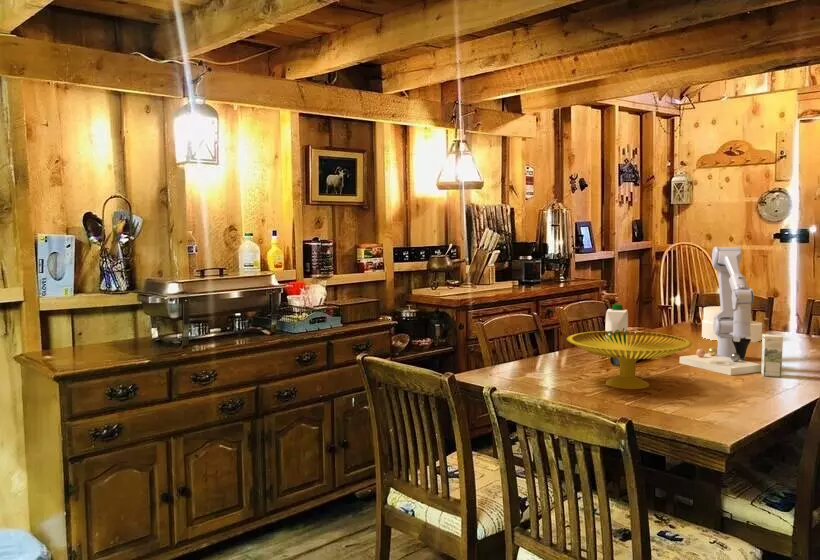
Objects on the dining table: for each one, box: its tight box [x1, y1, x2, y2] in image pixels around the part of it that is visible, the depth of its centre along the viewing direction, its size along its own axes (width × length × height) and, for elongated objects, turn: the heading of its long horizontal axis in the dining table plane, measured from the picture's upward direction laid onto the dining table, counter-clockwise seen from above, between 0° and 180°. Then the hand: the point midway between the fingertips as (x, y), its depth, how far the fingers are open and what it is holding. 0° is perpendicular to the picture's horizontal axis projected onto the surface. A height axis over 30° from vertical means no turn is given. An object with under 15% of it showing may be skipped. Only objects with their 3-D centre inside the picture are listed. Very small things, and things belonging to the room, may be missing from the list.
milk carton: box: [604, 303, 629, 344], centre depth 287 cm, size 9×9×20 cm
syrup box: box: [760, 333, 784, 378], centre depth 244 cm, size 6×6×14 cm
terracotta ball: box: [695, 348, 706, 357], centre depth 266 cm, size 3×3×3 cm
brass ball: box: [707, 346, 717, 356], centre depth 268 cm, size 3×3×3 cm
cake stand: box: [566, 330, 693, 390], centre depth 234 cm, size 40×40×15 cm
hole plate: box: [679, 352, 761, 376], centre depth 259 cm, size 15×24×2 cm, turn 23°
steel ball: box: [731, 353, 741, 362], centre depth 256 cm, size 3×3×3 cm
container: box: [701, 305, 763, 343], centre depth 319 cm, size 20×25×14 cm
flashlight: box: [609, 357, 647, 367], centre depth 270 cm, size 5×21×5 cm, turn 129°
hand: (740, 358), depth 257 cm, fingers closed
